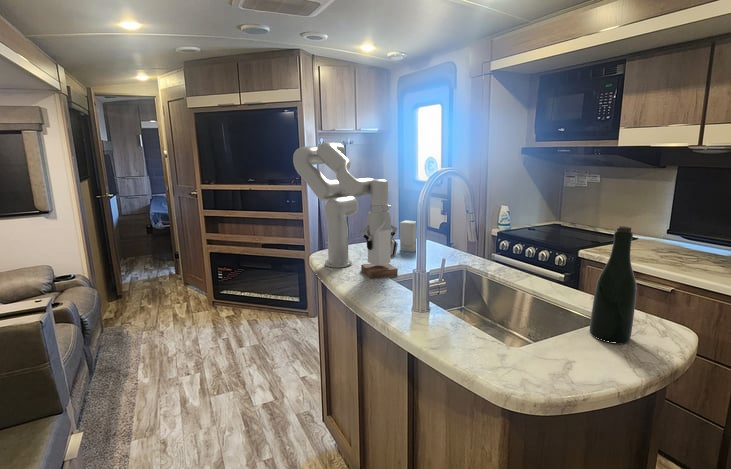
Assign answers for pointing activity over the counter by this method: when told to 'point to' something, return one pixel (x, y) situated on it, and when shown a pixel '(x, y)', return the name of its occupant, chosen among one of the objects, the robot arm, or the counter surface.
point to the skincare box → (408, 236)
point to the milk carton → (380, 246)
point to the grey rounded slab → (393, 247)
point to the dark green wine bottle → (615, 293)
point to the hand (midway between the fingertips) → (379, 248)
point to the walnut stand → (379, 270)
